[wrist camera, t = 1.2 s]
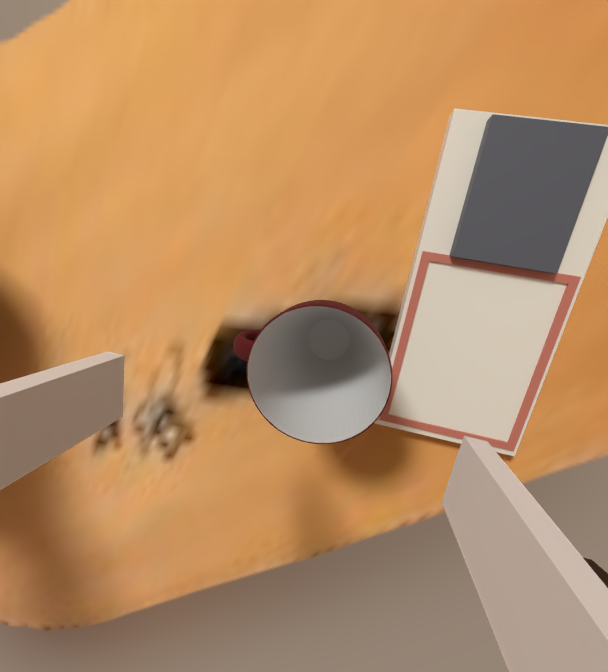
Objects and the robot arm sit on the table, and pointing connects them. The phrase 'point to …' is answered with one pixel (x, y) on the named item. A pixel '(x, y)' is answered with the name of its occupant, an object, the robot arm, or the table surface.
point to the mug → (317, 371)
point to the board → (495, 273)
